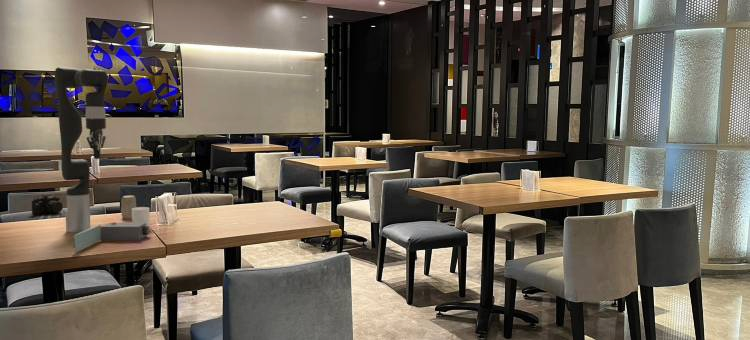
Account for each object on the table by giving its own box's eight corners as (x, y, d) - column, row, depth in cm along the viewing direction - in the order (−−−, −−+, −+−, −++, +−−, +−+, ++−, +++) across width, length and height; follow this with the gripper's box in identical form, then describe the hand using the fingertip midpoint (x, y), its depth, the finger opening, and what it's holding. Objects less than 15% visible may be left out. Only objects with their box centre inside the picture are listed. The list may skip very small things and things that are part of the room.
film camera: (52, 215, 299) (51, 197, 298) (28, 215, 299) (28, 197, 298) (70, 210, 317) (69, 192, 316) (48, 210, 317) (47, 192, 316)
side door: (97, 239, 240) (96, 224, 239) (101, 239, 240) (101, 224, 239) (72, 251, 219) (72, 234, 218) (77, 251, 219) (76, 234, 218)
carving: (139, 218, 293) (138, 195, 292) (127, 220, 286) (126, 197, 285) (131, 217, 296) (130, 194, 295) (118, 219, 289) (118, 196, 288)
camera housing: (101, 240, 240) (100, 225, 240) (109, 236, 249) (109, 221, 249) (142, 240, 241) (142, 225, 240) (149, 236, 250) (149, 221, 249)
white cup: (132, 231, 260) (132, 210, 259) (131, 228, 267) (130, 207, 266) (151, 230, 263) (150, 209, 262) (149, 227, 270) (148, 206, 269)
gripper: (93, 117, 243) (95, 157, 245) (79, 117, 230) (80, 159, 232) (111, 117, 244) (112, 157, 245) (97, 117, 230) (99, 159, 232)
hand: (97, 158), depth 238 cm, fingers closed
